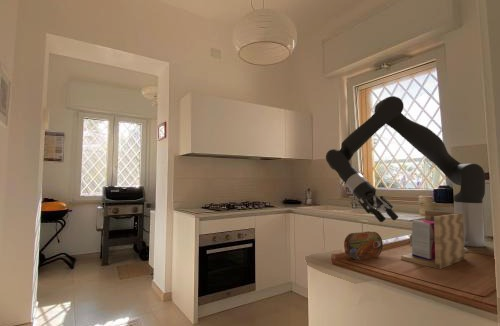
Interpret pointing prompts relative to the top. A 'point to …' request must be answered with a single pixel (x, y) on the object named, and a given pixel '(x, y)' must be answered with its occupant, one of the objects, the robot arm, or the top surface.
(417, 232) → the supplement box
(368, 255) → the tin
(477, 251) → the top surface
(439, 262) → the wooden bookend
